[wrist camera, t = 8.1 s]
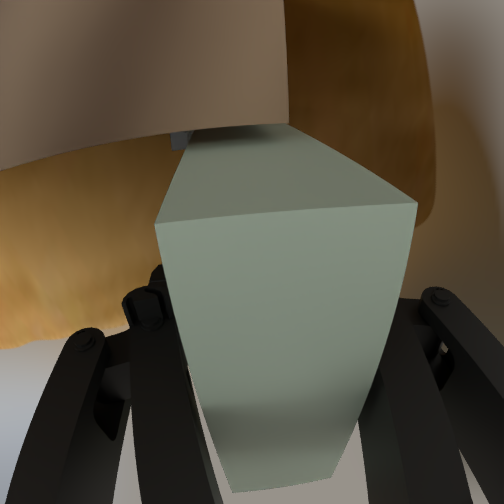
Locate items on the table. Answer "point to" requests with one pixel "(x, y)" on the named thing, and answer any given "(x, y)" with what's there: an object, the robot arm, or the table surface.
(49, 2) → the cabinet
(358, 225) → the pale green square block
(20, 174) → the table surface
